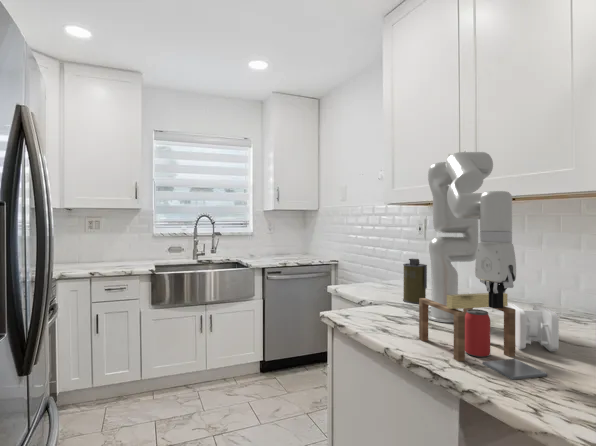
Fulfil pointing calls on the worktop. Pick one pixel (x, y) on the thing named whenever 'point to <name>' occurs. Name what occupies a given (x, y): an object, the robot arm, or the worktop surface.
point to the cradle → (460, 327)
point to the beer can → (477, 333)
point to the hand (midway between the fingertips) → (495, 307)
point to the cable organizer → (536, 327)
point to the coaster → (514, 369)
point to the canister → (414, 281)
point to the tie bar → (470, 300)
